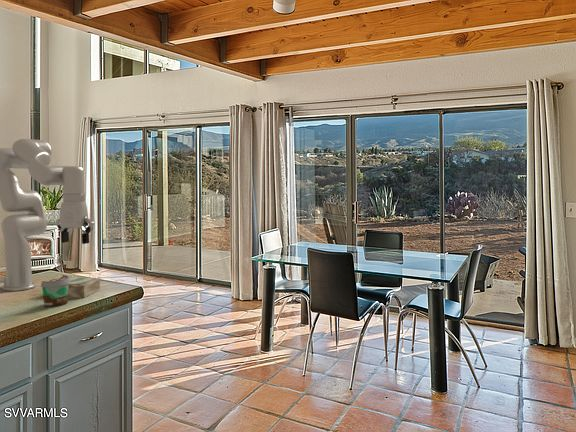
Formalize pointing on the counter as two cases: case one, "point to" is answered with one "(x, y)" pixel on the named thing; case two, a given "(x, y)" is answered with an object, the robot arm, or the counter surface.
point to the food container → (55, 291)
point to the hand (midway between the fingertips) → (75, 242)
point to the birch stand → (83, 287)
